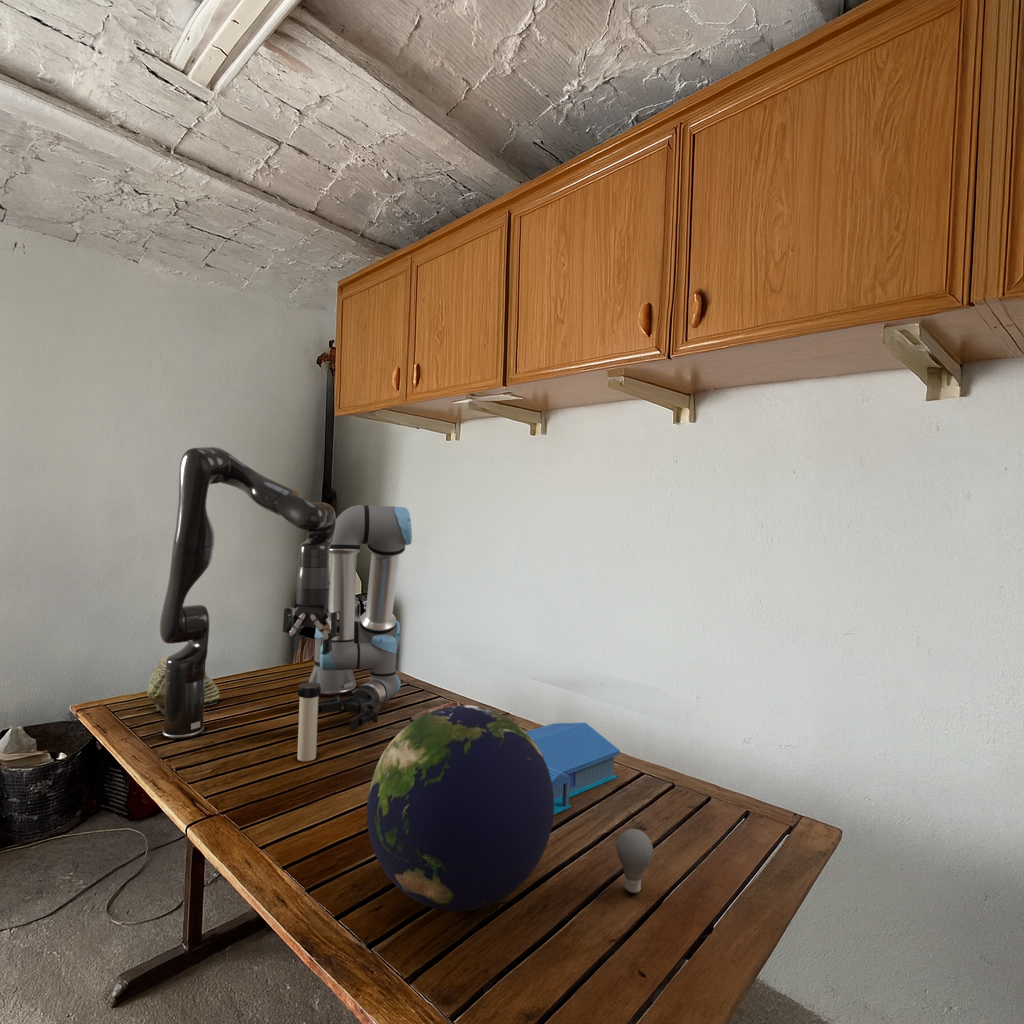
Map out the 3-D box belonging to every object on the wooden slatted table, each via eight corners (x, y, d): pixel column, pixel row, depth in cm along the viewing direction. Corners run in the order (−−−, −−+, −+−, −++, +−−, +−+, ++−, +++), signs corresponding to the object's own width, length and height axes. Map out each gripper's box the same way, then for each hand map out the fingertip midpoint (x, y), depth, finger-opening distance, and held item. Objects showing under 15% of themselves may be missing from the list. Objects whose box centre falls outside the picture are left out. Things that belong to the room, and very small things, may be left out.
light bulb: (610, 879, 108) (613, 822, 108) (644, 879, 109) (647, 822, 109) (619, 902, 102) (622, 840, 102) (655, 901, 103) (658, 840, 103)
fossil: (144, 707, 182) (145, 655, 182) (212, 696, 194) (213, 647, 194) (151, 716, 175) (153, 662, 175) (221, 703, 188) (223, 653, 188)
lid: (295, 698, 150) (296, 688, 150) (299, 691, 155) (299, 682, 155) (318, 697, 151) (319, 688, 151) (321, 691, 156) (322, 682, 156)
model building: (501, 837, 120) (504, 785, 120) (427, 790, 139) (429, 744, 138) (628, 782, 147) (630, 739, 147) (552, 748, 165) (553, 710, 165)
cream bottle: (295, 761, 151) (298, 689, 150) (298, 754, 155) (301, 684, 155) (314, 761, 151) (317, 689, 151) (317, 753, 156) (320, 684, 155)
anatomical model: (407, 708, 179) (421, 696, 191) (406, 722, 179) (420, 709, 191) (452, 713, 177) (463, 701, 188) (451, 727, 177) (463, 714, 188)
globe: (322, 922, 94) (330, 722, 94) (423, 829, 122) (430, 674, 122) (507, 988, 83) (517, 762, 83) (572, 869, 111) (580, 699, 110)
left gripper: (277, 584, 150) (275, 653, 151) (332, 589, 147) (329, 659, 147) (295, 581, 158) (293, 646, 158) (347, 585, 154) (345, 651, 155)
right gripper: (406, 716, 178) (371, 743, 157) (327, 705, 184) (283, 730, 164) (407, 689, 178) (372, 713, 157) (328, 679, 184) (284, 701, 164)
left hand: (310, 652), depth 153 cm, fingers open, 8 cm apart
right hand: (326, 722), depth 160 cm, fingers open, 13 cm apart
